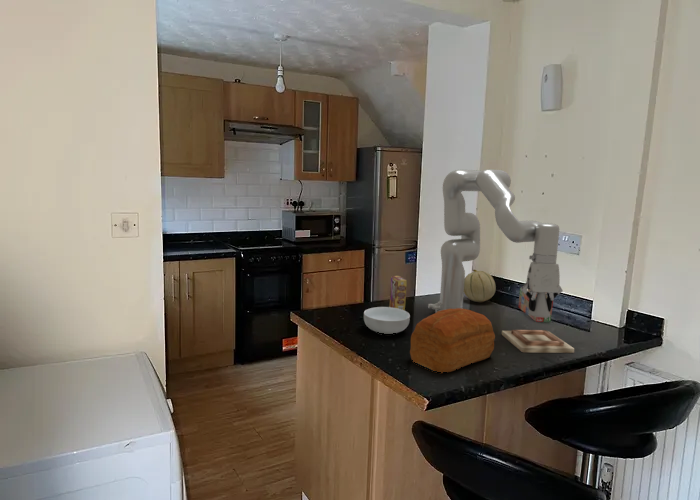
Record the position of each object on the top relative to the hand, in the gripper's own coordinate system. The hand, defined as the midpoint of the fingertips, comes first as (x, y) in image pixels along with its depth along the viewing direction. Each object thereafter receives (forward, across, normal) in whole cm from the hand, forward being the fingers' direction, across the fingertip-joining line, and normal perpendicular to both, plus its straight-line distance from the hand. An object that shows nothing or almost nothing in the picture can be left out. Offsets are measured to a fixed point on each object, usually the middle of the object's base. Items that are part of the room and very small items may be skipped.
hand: (539, 310), depth 169 cm
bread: (+12, -35, -15) cm, 40 cm away
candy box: (+12, -44, +34) cm, 57 cm away
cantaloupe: (+12, -2, +56) cm, 58 cm away
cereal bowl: (+12, -52, +11) cm, 55 cm away
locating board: (+12, 0, 0) cm, 12 cm away
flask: (+2, 0, 0) cm, 2 cm away
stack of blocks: (+12, +16, +36) cm, 41 cm away
